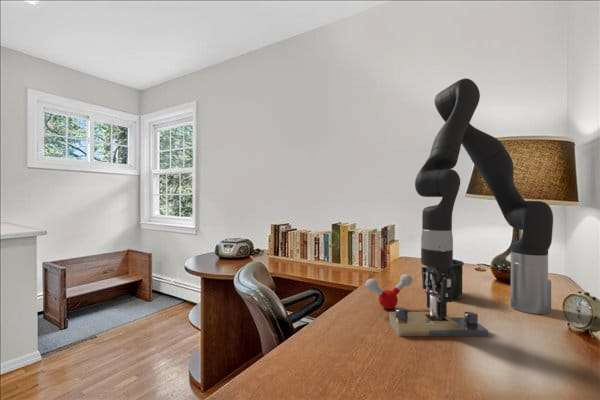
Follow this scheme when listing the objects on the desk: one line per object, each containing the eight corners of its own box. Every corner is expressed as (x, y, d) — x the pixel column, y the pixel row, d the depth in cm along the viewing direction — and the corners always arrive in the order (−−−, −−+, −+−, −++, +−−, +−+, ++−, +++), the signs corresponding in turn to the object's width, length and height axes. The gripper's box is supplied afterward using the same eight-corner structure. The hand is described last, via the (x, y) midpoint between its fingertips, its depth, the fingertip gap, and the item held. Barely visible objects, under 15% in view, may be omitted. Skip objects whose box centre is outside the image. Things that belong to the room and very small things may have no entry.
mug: (423, 295, 108) (423, 260, 108) (442, 287, 118) (442, 255, 118) (455, 303, 100) (455, 266, 100) (472, 294, 110) (473, 260, 109)
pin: (426, 326, 82) (426, 288, 82) (439, 326, 82) (440, 288, 82) (431, 332, 78) (432, 292, 78) (446, 332, 78) (446, 292, 78)
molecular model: (376, 317, 87) (376, 282, 87) (361, 311, 92) (361, 278, 92) (414, 305, 97) (414, 274, 97) (399, 300, 102) (399, 270, 102)
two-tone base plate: (470, 323, 84) (470, 304, 84) (488, 336, 76) (488, 315, 76) (389, 322, 84) (389, 304, 84) (398, 335, 76) (398, 315, 76)
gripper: (412, 242, 87) (411, 302, 87) (434, 251, 73) (433, 323, 73) (438, 243, 87) (438, 302, 87) (466, 251, 73) (465, 323, 73)
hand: (436, 311), depth 80 cm, fingers open, 5 cm apart
